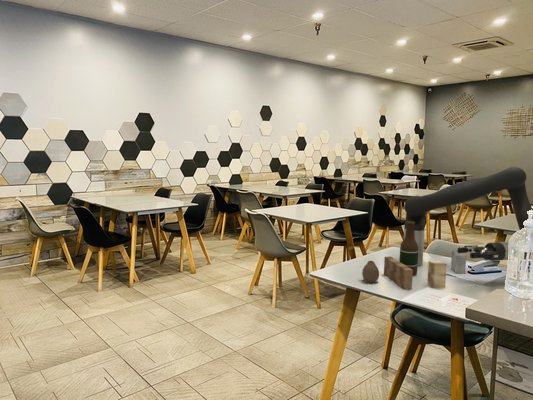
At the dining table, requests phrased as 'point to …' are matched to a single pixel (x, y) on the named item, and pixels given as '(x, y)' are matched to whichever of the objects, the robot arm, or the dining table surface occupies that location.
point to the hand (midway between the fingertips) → (464, 252)
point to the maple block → (437, 274)
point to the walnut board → (398, 272)
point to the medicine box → (458, 262)
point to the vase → (370, 272)
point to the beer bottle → (409, 249)
